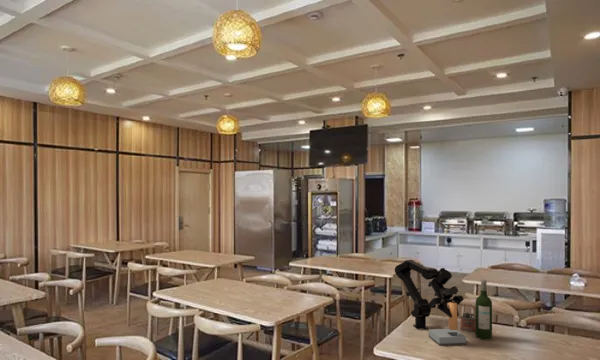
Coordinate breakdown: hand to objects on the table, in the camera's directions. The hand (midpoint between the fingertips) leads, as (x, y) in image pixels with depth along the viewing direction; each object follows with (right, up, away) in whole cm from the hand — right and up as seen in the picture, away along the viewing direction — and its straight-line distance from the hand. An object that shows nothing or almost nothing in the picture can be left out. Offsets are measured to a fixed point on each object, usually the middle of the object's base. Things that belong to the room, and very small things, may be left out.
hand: (454, 316), depth 206 cm
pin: (-1, -7, +1) cm, 7 cm away
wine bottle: (+19, -14, +9) cm, 25 cm away
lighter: (+14, -14, +19) cm, 28 cm away
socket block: (-3, -14, +3) cm, 14 cm away
